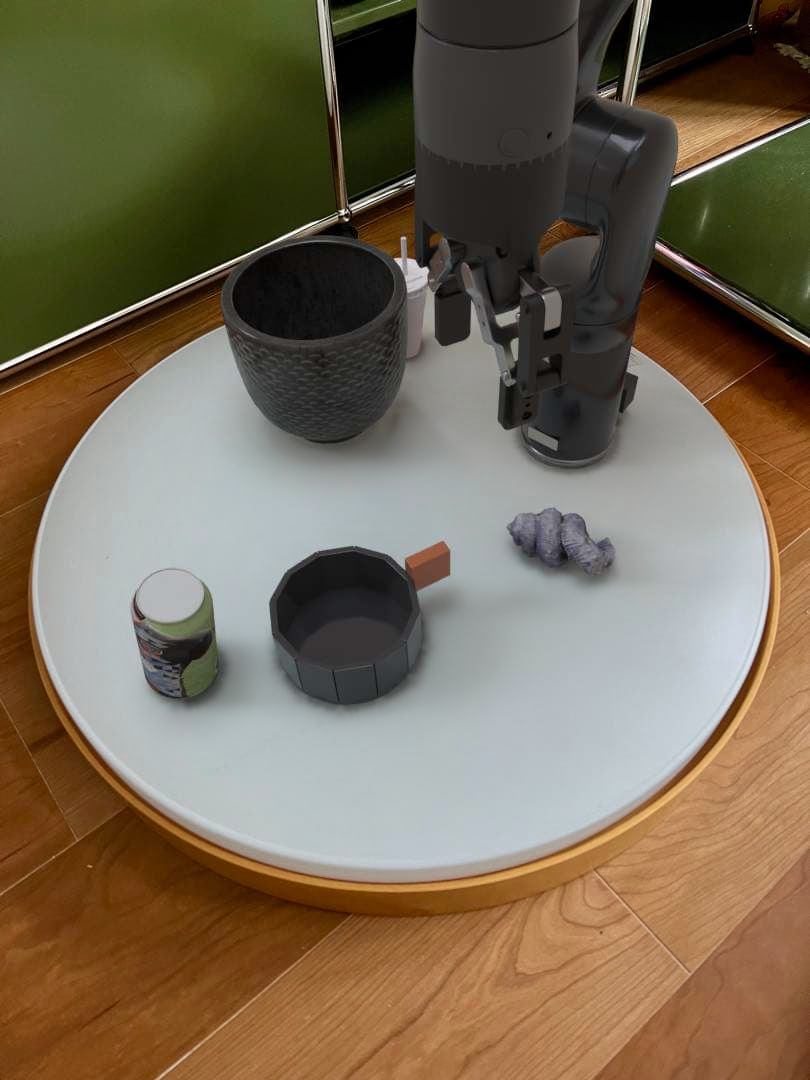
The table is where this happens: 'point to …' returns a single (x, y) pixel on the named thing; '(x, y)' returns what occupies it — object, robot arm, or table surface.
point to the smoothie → (414, 298)
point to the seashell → (560, 540)
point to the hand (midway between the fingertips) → (482, 379)
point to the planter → (319, 334)
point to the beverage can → (175, 632)
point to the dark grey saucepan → (352, 620)
